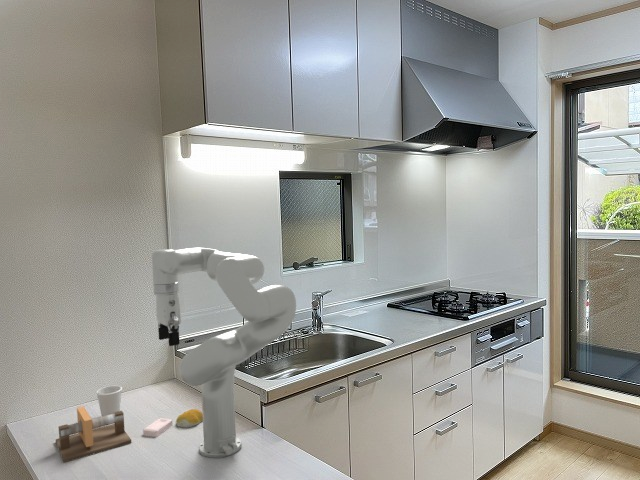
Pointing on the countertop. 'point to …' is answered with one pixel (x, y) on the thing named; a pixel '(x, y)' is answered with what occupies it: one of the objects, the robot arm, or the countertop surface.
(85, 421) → the collar
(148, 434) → the soap bar
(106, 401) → the dixie cup
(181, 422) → the bread roll
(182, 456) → the countertop surface
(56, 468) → the countertop surface
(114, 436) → the pipe stand
